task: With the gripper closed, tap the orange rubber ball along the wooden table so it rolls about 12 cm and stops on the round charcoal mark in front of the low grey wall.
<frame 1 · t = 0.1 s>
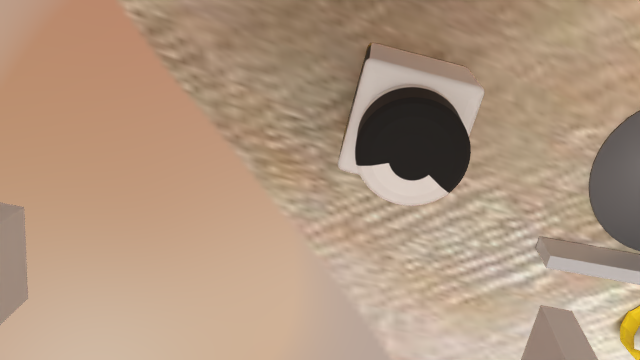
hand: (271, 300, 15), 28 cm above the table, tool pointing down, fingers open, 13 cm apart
medicine bottle: (404, 102, 41), on the table
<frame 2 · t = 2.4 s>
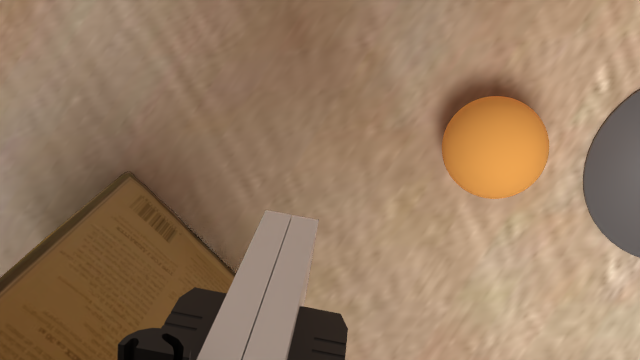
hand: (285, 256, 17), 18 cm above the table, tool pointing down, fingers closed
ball: (494, 147, 31), on the table
food packaging: (157, 275, 39), on the table
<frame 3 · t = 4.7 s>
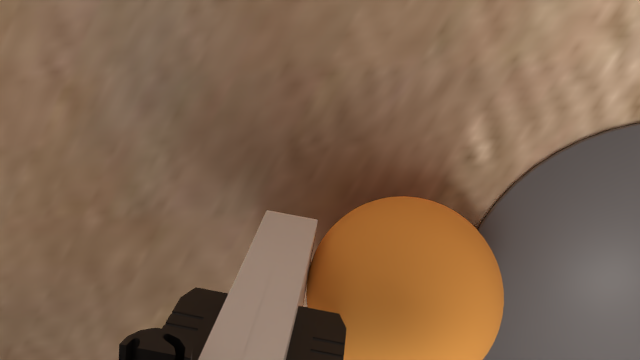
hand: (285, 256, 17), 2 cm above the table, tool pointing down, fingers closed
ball: (402, 292, 16), on the table
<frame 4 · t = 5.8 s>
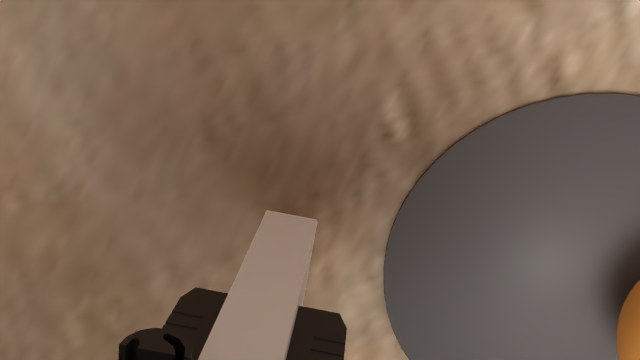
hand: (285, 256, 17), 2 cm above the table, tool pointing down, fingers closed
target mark: (574, 280, 18), on the table
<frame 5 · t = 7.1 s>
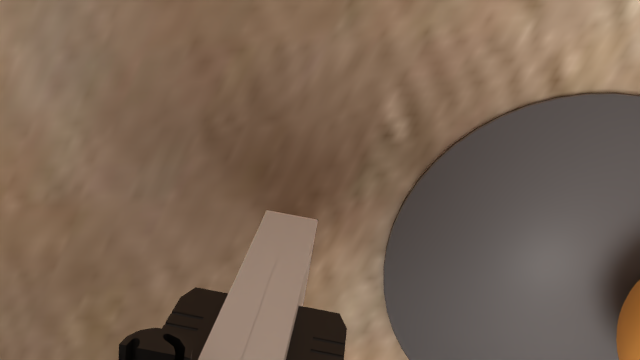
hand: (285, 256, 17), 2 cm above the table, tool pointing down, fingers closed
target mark: (574, 280, 18), on the table
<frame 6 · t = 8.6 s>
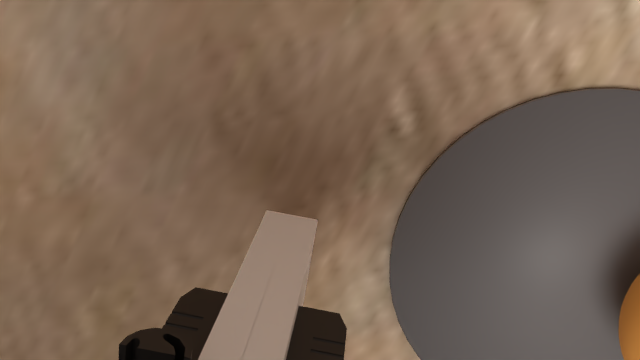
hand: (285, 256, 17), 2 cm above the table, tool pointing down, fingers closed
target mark: (577, 272, 18), on the table
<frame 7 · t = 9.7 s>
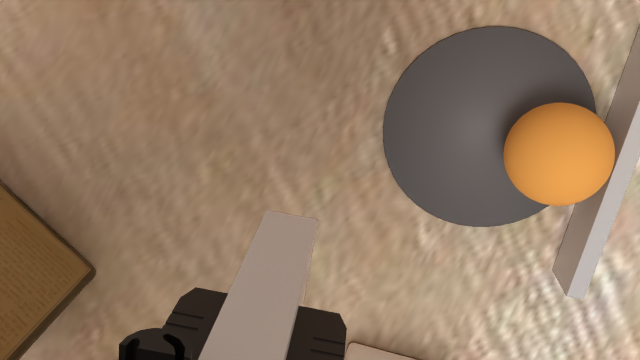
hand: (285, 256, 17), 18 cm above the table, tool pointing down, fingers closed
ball: (557, 154, 31), on the table
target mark: (486, 132, 33), on the table
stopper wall: (603, 153, 33), on the table
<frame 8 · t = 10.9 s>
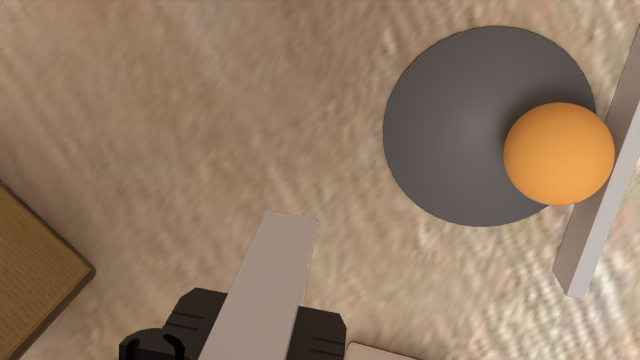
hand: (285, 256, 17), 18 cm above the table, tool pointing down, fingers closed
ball: (557, 154, 31), on the table
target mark: (486, 132, 33), on the table
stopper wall: (603, 153, 33), on the table
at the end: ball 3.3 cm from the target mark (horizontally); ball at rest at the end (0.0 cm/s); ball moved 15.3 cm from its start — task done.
